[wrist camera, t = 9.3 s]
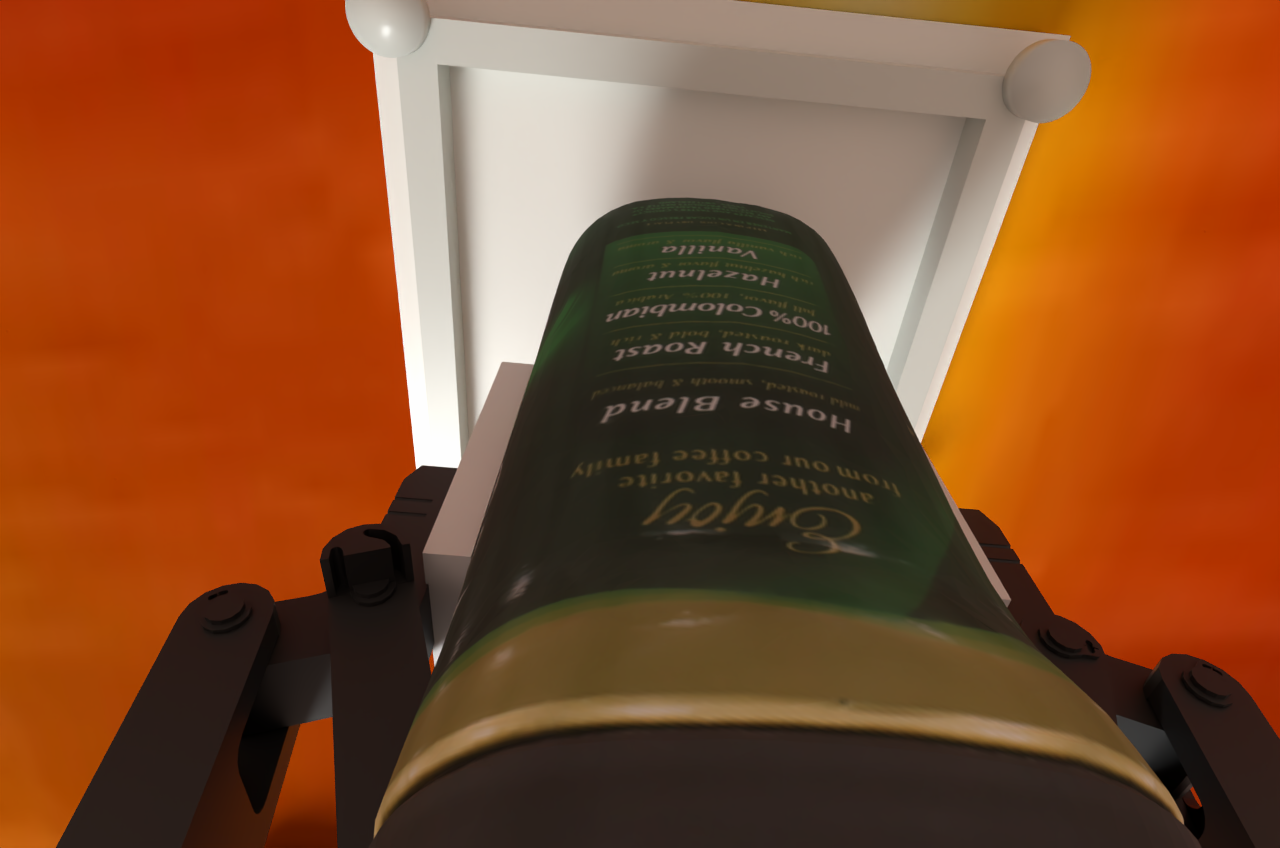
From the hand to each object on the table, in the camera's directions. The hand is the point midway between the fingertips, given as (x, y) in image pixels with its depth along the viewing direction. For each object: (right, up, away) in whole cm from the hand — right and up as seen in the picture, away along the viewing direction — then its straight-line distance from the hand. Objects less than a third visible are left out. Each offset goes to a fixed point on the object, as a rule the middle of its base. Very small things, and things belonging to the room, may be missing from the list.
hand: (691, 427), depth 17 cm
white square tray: (0, +4, +6) cm, 8 cm away
